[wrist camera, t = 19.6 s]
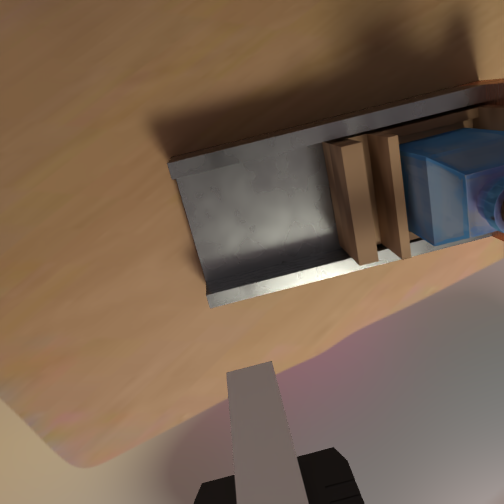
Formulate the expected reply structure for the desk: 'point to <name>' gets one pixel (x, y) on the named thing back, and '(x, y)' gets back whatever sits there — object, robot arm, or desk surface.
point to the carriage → (386, 179)
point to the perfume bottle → (454, 184)
